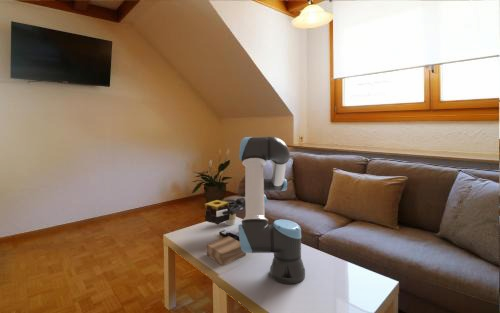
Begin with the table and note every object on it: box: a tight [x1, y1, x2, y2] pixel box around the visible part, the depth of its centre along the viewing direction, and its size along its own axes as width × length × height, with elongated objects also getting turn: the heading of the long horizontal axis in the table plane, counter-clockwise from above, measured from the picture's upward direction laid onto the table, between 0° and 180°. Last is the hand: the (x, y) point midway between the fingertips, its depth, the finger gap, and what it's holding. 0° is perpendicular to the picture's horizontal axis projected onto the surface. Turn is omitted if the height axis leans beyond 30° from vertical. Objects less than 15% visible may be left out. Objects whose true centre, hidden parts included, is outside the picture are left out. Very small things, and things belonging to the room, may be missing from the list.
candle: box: [204, 199, 230, 225], centre depth 151 cm, size 10×10×10 cm
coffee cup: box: [224, 199, 237, 226], centre depth 176 cm, size 10×10×15 cm
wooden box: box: [206, 235, 247, 266], centre depth 135 cm, size 14×14×6 cm
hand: (211, 211), depth 149 cm, fingers closed on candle, 12 cm apart
